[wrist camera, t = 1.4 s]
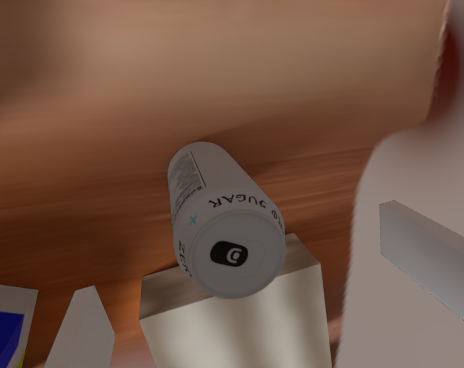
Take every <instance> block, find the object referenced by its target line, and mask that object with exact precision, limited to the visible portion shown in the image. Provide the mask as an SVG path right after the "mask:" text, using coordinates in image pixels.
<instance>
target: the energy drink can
mask: <svg viewBox="0 0 464 368" xmlns="http://www.w3.org/2000/svg"><path fill="white" fill-rule="evenodd" d="M168 186H169V198H170V209H171V221H172V232H173V244H174V251H175V256H176V259H177V261H178V263H179V265H180V267H181V268H182V270H183V271H184V272H185V274H186V275H188V276H189V277H190V278H191V279H192V280H194V281H195V283H196V284H197V285H198V287H199V288H201V289H202V290H203V291H204V292H206V293H208V294H210V295H212V296H214V297H217V298H221V299H229V300H232V299H241V298H245V297H249V296H251V295H254V294H256V293H258V292H260V291H261V290H263V289H264V288H266V287H267V286H268V285H269V284H270V283H271V282H272V281H273V280H274V279H275V278H276V276H277V275H278V274H279V272H280V270H281V268H282V266H283V263H284V260H285V255H286V242H285V239H284V238H285V227H284V221H283V218H282V215H281V213H280V211H279V209H278V207H277V206H276V205H275V204H274V203H273V201H272V200H271V199H270V198H269V197H268V196H267V195H266V194H265V193H264V192H263V191H262V190H261V188H260V187H259V186H258V185H257V184H256V183H255V182H254V181H253V180H252V179H251V178H250V177H249V175H248V174H247V173H246V172H245V171H244V170H243V169H242V168H241V167H240V166H239V165H238V164H237V163H236V161H235V160H234V159H233V158H232V157H231V156H230V155H229V154H228V153H227V152H226V151H225V150H224V149H223V148H222V147H220V146H218V145H216V144H214V143H210V142H201V141H200V142H194V143H191V144H188V145H186V146H184V147H183V148H181V149H180V150H179V151H178V152H177V153H176V154H175V155H174V157H173V158H172V160H171V162H170V164H169V168H168Z"/></svg>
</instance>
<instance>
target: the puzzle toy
mask: <svg viewBox="0 0 464 368" xmlns="http://www.w3.org/2000/svg"><path fill="white" fill-rule="evenodd" d="M37 295H38V290H35V289H28V288H21V287H13V286H6V285H0V368H22V364H23V359H24V355H25V350H26V346H27V341H28V336H29V332H30V327H31V323H32V318H33V313H34V309H35V304H36V300H37Z"/></svg>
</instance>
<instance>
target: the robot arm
mask: <svg viewBox="0 0 464 368" xmlns="http://www.w3.org/2000/svg"><path fill="white" fill-rule="evenodd" d="M380 238H381V254H382V255H383V256H384V257H386V258H387V259H388V260H389V261H391V262H392V263H393V264H394V265H395V266H397V267H398V268H399V269H401V270H402V271H403V272H404V273H405V274H407V275H408V276H409V277H410V278H411V279H413V280H414V281H415V282H416V283H418V284H419V285H420V286H422V287H423V288H424V289H425V290H427V291H428V292H429V293H430V294H431V295H433V296H434V297H435V298H436V299H437V300H439V301H440V302H441V303H442V304H444V305H445V306H446V307H447V308H449V309H450V310H451V311H452V312H454V313H455V314H456V315H457V316H459V317H460V318H461V319H462V320H464V237H463V236H461V235H459V234H457V233H455V232H453V231H451V230H450V229H448V228H445V227H444V226H442V225H440V224H438V223H436V222H434V221H433V220H431V219H429V218H427V217H425V216H423V215H421V214H419V213H417V212H416V211H414V210H412V209H410V208H408V207H406V206H404V205H402V204H400V203H398V202H396V201H395V200H393V201H389V202H386V203H382V204H380ZM114 341H115V333H114V330H113V328H112V326H111V323H110V321H109V319H108V316H107V314H106V312H105V309H104V307H103V305H102V302H101V300H100V298H99V295H98V293H97V291H96V288H95V286H90V287H87V288H83V289H80V290H76V291H75V293H74V295H73V298H72V300H71V302H70V305H69V307H68V310H67V312H66V315H65V317H64V319H63V322H62V324H61V327H60V329H59V332H58V334H57V336H56V339H55V341H54V344H53V346H52V349H51V351H50V353H49V356H48V358H47V361H46V363H45V366H44V368H110V362H111V357H112V351H113V346H114Z"/></svg>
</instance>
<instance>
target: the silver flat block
mask: <svg viewBox="0 0 464 368" xmlns="http://www.w3.org/2000/svg"><path fill="white" fill-rule="evenodd" d="M284 239H285V242H286V255H285V260H284V263H283V266H282V268H281V270H280V272H279V274H278V275H277V276H276V278H275V279H274V280H273V281H272V282H271V283H270V284H269V285H268V286H267V287H266V288H264V289H263V290H261V291H260V292H258V293H256V294H254V295H251V296H249V297H245V298H241V299H232V300H229V299H221V298H217V297H214V296H212V295H210V294H208V293H206V292H204V291H203V290H202V289H201V288H199V287H198V285H197V284H196V283H195V281H194V280H192V279H191V278H190V277H189V276H188V275H186V274H185V272H184V271H183V270H182V268H181V267H180V266H178V267H174V268H171V269H168V270H164V271H161V272H157V273H154V274H151V275H147V276H144V277H142V288H141V300H140V311H139V322H140V325H141V327H142V330H143V332H144V335H145V338H146V340H147V343H148V345H149V348H150V351H151V353H152V356H153V358H154V361H155V364H156V366H157V368H332V363H331V354H330V345H329V336H328V326H327V317H326V308H325V299H324V290H323V281H322V272H321V263H320V262H319V261H318V260H317V259H316V258H315V257H314V255H313V254H312V253H311V252H310V251H309V250H308V249H307V247H306V246H305V245H304V244H303V243H302V242H301V241H300V239H299V238H298V237H297V236H296V235H295V234H294V233H291V234H287V235H285V238H284Z"/></svg>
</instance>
